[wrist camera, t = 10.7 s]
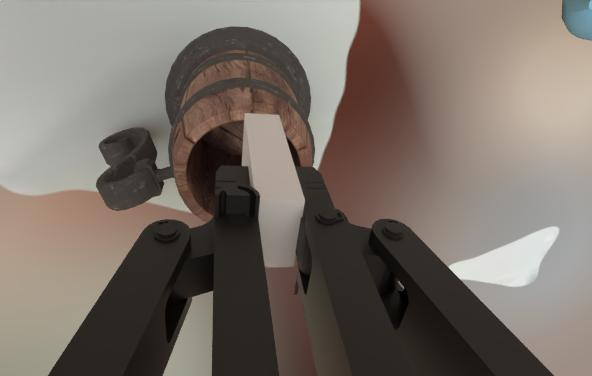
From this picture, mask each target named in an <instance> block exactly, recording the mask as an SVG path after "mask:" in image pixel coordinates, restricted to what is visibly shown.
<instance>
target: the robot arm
mask: <svg viewBox="0 0 592 376" xmlns="http://www.w3.org/2000/svg"><path fill="white" fill-rule="evenodd" d="M296 256H297V261H298V270H297V276H296V283H295V288H294V294H297V292H298V288H299V291H300V296H301V300H302V305H303V310H304V315H305V320H306V324H307V329H308V333H309V339H310V343H311V348H312V353H313V357H314V362H315V367H316V372H317V376H554V375H553V374H552V373H551V372H550V371H549V370H548V369H547V368H546V367H545V366H544V365H543V364H542V363H541V362H540V361H539V360H538V359H537V358H536V357H535V356H534V355H533V354H532V353H531V352H530V351H529V350H528V349H527V348H526V347H525V346H524V345H523V343H521V341H520V340H519V339H518V338H517V337H516V336H515V335H514V334H513V333H512V332H511V331H510V330H509V329H508V328H507V327H506V326H505V325H504V324H503V323H502V322H501V321H500V320H499V319H498V318H497V317H496V316H495V315H494V314H493V313H492V312H491V311H490V310H489V309H488V308H487V307H486V306H485V305H484V304H483V303H482V302H481V301H480V300H479V299H478V298H477V296H475V294H474V293H473V292H472V291H471V290H470V289H468V287H467V286H466V285H465V284H464V283H463V282H462V281H461V280H460V279H459V278H458V277H457V276H456V275H455V274H454V273H453V272H452V271H451V270H450V269H449V268H448V267H447V266H446V265H445V264H444V263H443V262H442V261H441V260H440V259H439V258H438V257H437V256H436V255H435V254H434V253H433V252H432V251H431V249H429V247H428V246H427V245H426V244H425V243H424V242H423V241H422V240H421V239H420V238H419V237H418V236H417V235H416V234H415V233H414V232H413V231H412V230H411V229H410V228H409V227H407V226H406V225H405V224H403V223H401V222H398V221H396V220H392V219H380V220H378V221H376V222H375V223H374V224H373V225H372V228H371V229H369V228H365V227H360V226H356V225H353V224H350V223H349V222H348V219H347V217H346V216H345V215H344V213H342V212H341V211H339V210H338V209H335V208H334V205H333V203H332V200H331V198H330V195H329V193H328V190H327V188H326V185H325V183H324V180H323V178H322V175H321V174H320V173H319V172H318V171H317V170H316V169H315V168H314V167H295V166H294V162H293V159H292V156H291V153H290V149H289V146H288V143H287V139H286V136H285V133H284V130H283V126H282V123H281V120H280V117H279V115H271V114H252V113H245V115H244V133H243V150H242V166H222V165H221V167H220V168H219V169H218V170H217V171H216V180H215V213H214V216H213V218H212V219H211V220H210V221H209V222H208V223H206V224H204V225H202V226H199V227H196V228H191V229H190V228H189V227H188V226H187V225H186V224H184V223H183V222H181V221H177V220H160V221H156V222H154V223H152V224H150V225H148V226H147V227H146V228H145V229H144V230H143V232H142V233H141V235H140V236H139V238H138V239H137V241H136V242H135V244H134V245H133V247H132V249H131V250H130V251H129V253H128V255H127V256H126V258H125V259H124V261H123V262H122V264H121V265H120V267H119V268H118V270H117V271H116V273H115V274H114V276H113V277H112V279H111V280H110V282H109V283H108V285H107V287H106V288H105V290H104V291H103V293H102V294H101V296H100V297H99V299H98V300H97V302H96V303H95V305H94V306H93V308H92V309H91V311H90V312H89V314H88V315H87V317H86V319H85V320H84V321H83V323H82V324H81V326H80V327H79V329H78V331H77V332H76V334H75V335H74V337H73V338H72V340H71V341H70V343H69V344H68V346H67V347H66V349H65V350H64V352H63V353H62V355H61V356H60V358H59V360H58V361H57V362H56V364H55V366H54V367H53V369H52V370H51V372H50V373H49V375H48V376H163V373H164V370H165V368H166V365H167V363H168V360H169V357H170V355H171V353H172V350H173V347H174V345H175V342H176V340H177V337H178V335H179V332H180V330H181V327H182V325H183V322H184V320H185V317H186V315H187V312H188V309H189V307H190V304H191V302H192V297H193V296H197V295H200V294H203V293H207V292H210V291H213V341H212V342H213V343H212V376H279V371H278V364H277V356H276V349H275V341H274V334H273V326H272V318H271V311H270V303H269V295H268V288H267V280H266V273H265V267H294V265H295V259H296ZM398 281H400V283H401V284H402V285H403V286H404V289H403V288H402V287H401V286H400V285H399V283H398Z"/></svg>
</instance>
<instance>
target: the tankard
mask: <svg viewBox="0 0 592 376" xmlns="http://www.w3.org/2000/svg"><path fill="white" fill-rule="evenodd" d="M165 100H166V110H167V113H168V117H169V120H170V123H171V125H172V130H171V134H170V140H169V147H168V151H169V162H170V165H171V166H170V167H166V168H163V169H157V166H156V164H155V161H156V157H157V151H156V148H155V146H154V143H153V141H152V139H151V136H150V134H149V132H148V131H147V130H145V129H144V128H131V129H127V130H123V131H121V132H118V133H115V134H113V135H111V136H109V137H107V138H106V139H104V140H103V141H101V142H100V144H99V149H100V151H101V153H102V155H103V157H104V159H105V161H106V163H107V164H108V165H110V166H111V167H110V168H109V169H108V170H106V171H105V172H104V173H103V174H102V175H101V176H100V177H99V178H98V179H97V183H96V187H97V189H98V191H99V193H100V194H101V196H102V198H103V200H104V202H105V204H106V205H107V207H109V208H110V209H112V210H116V211H119V210H126V209H129V208H132V207H135V206H137V205H140V204H142V203H144V202H146V201H147V200H149V199H151V198H152V197H155V196H158V195H161V192H162V189H163V186H164V182H163V180H165V179H169V178H172V177H173V178H175V182H176V185H177V188H178V191H179V194H180V196H181V198H182V199H183V201H184V203H185V205H186V206H187V207H188V208H189V209H190V210H191V212H192V213H193V214H195V215H196V216H198V217H199V218H200V219H202V220H203V221H205V222H207V223H208V222H209V221H210V220H211V219H212V218H213V216H214V213H215V180H216V171H217V170H218V169H219V168H220V167H221V165H222V166H242V150H243V133H244V115H245V113H252V114H271V115H279V117H280V120H281V123H282V126H283V130H284V133H285V136H286V139H287V143H288V146H289V149H290V153H291V156H292V159H293V162H294V166H295V167H312V166H313V163H314V154H315V146H314V138H313V134H312V131H311V128H310V125H309V123H308V117H309V113H310V103H311V96H310V87H309V83H308V80H307V76H306V73H305V71H304V69H303V67H302V65H301V64H300V62H299V60H298V58H297V57H296V56H295V55H294V54H293V53H292V51H291V50H290V49H289V48H288V47H287V46H286V45H284V44H283V43H282V42H281V41H279V40H278V39H277V38H275V37H273V36H271V35H269V34H267V33H265V32H263V31H259V30H256V29H252V28H248V27H226V28H220V29H216V30H213V31H210V32H208V33H205V34H203V35H201V36H200V37H198V38H197V39H195V40H194V41H192V42H191V43H189V44H188V45H187V46H186V47H185V48H184V50H183V51H182V52H181V53H180V54H179V55H178V57H177V59H176V60H175V62H174V63H173V65H172V67H171V70H170V73H169V75H168V78H167V83H166V91H165Z"/></svg>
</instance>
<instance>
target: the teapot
mask: <svg viewBox="0 0 592 376" xmlns="http://www.w3.org/2000/svg"><path fill="white" fill-rule="evenodd" d="M562 19H563V21H564V23H565V25H566V27H567V29H568V30H569V32H570V33H571V34H573V35H575V36H576V37H579V38H582V39H586V40H592V0H563V5H562Z"/></svg>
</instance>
